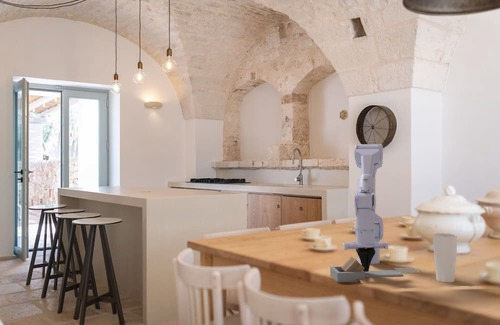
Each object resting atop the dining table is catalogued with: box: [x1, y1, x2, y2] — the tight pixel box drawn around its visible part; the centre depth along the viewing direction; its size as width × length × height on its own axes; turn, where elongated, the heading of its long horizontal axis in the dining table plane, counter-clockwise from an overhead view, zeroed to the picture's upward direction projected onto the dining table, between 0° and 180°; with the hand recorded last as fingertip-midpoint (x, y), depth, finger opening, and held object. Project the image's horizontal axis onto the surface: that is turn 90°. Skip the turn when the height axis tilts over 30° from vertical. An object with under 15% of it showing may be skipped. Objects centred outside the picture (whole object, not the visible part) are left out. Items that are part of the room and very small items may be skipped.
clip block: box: [341, 256, 365, 272], centre depth 154 cm, size 5×5×4 cm
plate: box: [393, 266, 421, 274], centre depth 161 cm, size 7×7×1 cm
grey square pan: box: [329, 265, 404, 283], centre depth 155 cm, size 9×22×3 cm, turn 95°
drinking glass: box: [432, 232, 458, 283], centre depth 147 cm, size 7×7×15 cm
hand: (365, 271), depth 155 cm, fingers closed
